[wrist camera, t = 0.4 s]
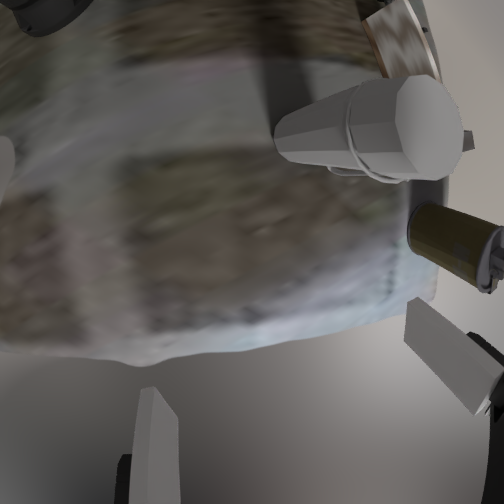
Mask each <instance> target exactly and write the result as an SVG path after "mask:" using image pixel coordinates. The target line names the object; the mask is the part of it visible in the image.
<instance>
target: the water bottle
mask: <svg viewBox="0 0 504 504" xmlns="http://www.w3.org/2000/svg"><path fill="white" fill-rule="evenodd" d="M463 138H464V130H463V126H462V121H461V117H460V113H459V109H458V106H457V105H456V103H455V101H454V100H453V98H452V97H451V95H450V93H449V92H448V90H447V89H446V87H445V86H444V85H442V84H441V83H439V82H438V81H436V80H435V79H433V78H432V77H430V76H429V75H416V76H407V77H399V78H392V79H388V78H375V79H371V80H368V81H365V82H363V83H362V84H361V85H358V86H355V87H352V88H349V89H347V90H344V91H342V92H339V93H337V94H334V95H331V96H329V97H327V98H324V99H322V100H319V101H317V102H315V103H312V104H310V105H308V106H305V107H303V108H301V109H299V110H296V111H294V112H292V113H290V114H288V115H286V116H284V117H283V118H282V119H281V120H280V121H279V122H278V124H277V125H276V126H275V132H274V139H273V140H274V142H275V145H276V148H277V150H278V152H279V153H280V154H281V155H282V156H283V157H285V158H286V159H287V160H288V161H291V162H297V163H303V164H314V165H324V166H327V168H328V169H329V170H330V171H331V172H332V173H334V174H337V175H341V176H361V175H369V176H370V177H372V178H374V179H376V180H379V181H381V182H385V183H396V184H397V183H399V182H401V181H403V180H404V181H406V182H408V181H409V180H410V179H420V180H439V179H441V178H443V177H445V176H448V175H450V174H452V173H453V171H454V169H455V168H456V166H457V164H458V162H459V160H460V158H461V156H462V150H463ZM335 167H341V168H350V169H357V170H363V171H347V172H346V171H342V170H338V169H336V168H335ZM378 175H386V176H389V177H392V178H391V179H389V178H384V177H381V176H378Z"/></svg>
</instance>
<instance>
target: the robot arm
mask: <svg viewBox="0 0 504 504" xmlns="http://www.w3.org/2000/svg"><path fill="white" fill-rule="evenodd" d="M92 1H93V0H0V3H1V4H3V5H4V6H6V7H8V8H9V9H11V10H12V11H13V13H14V16H15V18H16V20H17V23H18V25H19V27H20V29H21V30H22V31H23V32H25V33H26V34H28V35H30V36H33V37H42V36H46V35H49V34H51V33H54V32H56V31H58V30H60V29H61V28H63V27H65V26H66V25H68V24H69V23H70V22H72V21H73V20H74V19H75V18H77V17H78V16H79V15H80V14H81V13H82V12H83V11H84V10H85V9H86V8H87V7H88V6H89V5H90V3H91V2H92ZM404 342H405V343H406V344H407V345H408V346H409V347H410V348H411V349H412V350H413V351H414V352H415V353H416V354H417V355H418V356H419V357H420V358H421V359H422V360H423V361H424V362H425V363H426V364H427V365H428V366H429V368H430V369H431V370H432V371H433V372H434V373H435V374H436V375H437V376H438V377H439V378H440V379H441V380H442V381H443V382H444V384H446V386H447V387H448V388H449V389H450V390H451V391H452V392H453V393H454V394H455V395H456V397H457V398H458V399H459V400H460V401H461V402H462V403H463V404H464V405H465V407H466V408H467V409H468V410H469V411H470V412H471V413H472V414H473V415H474V416H475V415H476V414H477V413H478V412H479V411H480V410H481V409H483V408H484V407H485V405H486V403H487V402H488V400H490V401H491V404H490V406H489V407H488V409H487V410H486V412H485V416H487V414H488V413H489V411H490V414H489V416H490V440H489V455H488V465H487V473H486V480H485V486H484V492H483V497H482V502H481V504H504V355H503V354H501V353H500V352H499V351H498V350H496V348H494V347H493V346H491V344H490V343H488V342H486V340H485V339H483V338H482V337H481V336H480V335H478V334H475V333H473V332H469V333H467V334H465V333H463V332H462V331H461V330H460V329H458V328H457V327H456V326H455V325H453V324H452V323H451V322H450V321H448V320H447V319H446V318H445V317H443V316H442V315H441V314H440V313H438V312H437V311H436V310H434V309H433V308H432V307H431V306H429V305H428V304H427V303H425V302H424V301H423V300H421V299H420V298H419V297H417V298H415V299H413V300H411V301H409V302H407V314H406V325H405V334H404ZM178 457H179V456H178V417H177V416H176V415H175V413H174V412H173V411H172V409H171V408H170V407H169V405H168V404H167V403H166V402H165V400H164V399H163V397H162V396H161V395H160V393H159V392H158V390H157V389H156V388H155V387H149V388H144V389H141V393H140V398H139V405H138V412H137V419H136V426H135V434H134V443H133V452H132V454H123V455H122V457H121V459H120V461H119V463H118V467H117V476H116V482H117V483H116V487H115V499H114V504H181V502H180V483H179V458H178Z"/></svg>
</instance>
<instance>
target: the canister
mask: <svg viewBox="0 0 504 504" xmlns="http://www.w3.org/2000/svg"><path fill="white" fill-rule="evenodd" d="M407 237H408V244H409V247H410V249H411V250H412V251H413V252H414V253H415V254H417V255H421V256H423V257H425V258H427V259H428V260H430V261H432V262H434V263H436V264H437V265H439V266H441V267H443V268H444V269H446V270H448V271H450V272H451V273H453V274H455V275H456V276H458V277H460V278H461V279H463V280H465V281H467V282H468V283H470V284H471V285H473V286H475V287H476V288H478V290H479V291H480V292H482V293H488V294H491V293H492V292H493V291H494V290H495V289H496V288H497V284H498V281H499V280H503V279H504V226H498V225H495V224H493V223H490V222H488V221H485V220H482V219H479V218H477V217H474V216H471V215H468V214H465V213H462V212H459V211H456V210H453V209H450V208H447V207H444V206H441V205H437V204H436V203H434V202H429V201H427V202H425V203H423V204H421V205H420V206H418V207H417V208H416V209H415V211H414V212H413V214H412V216H411V219H410V221H409V224H408V230H407Z"/></svg>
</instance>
